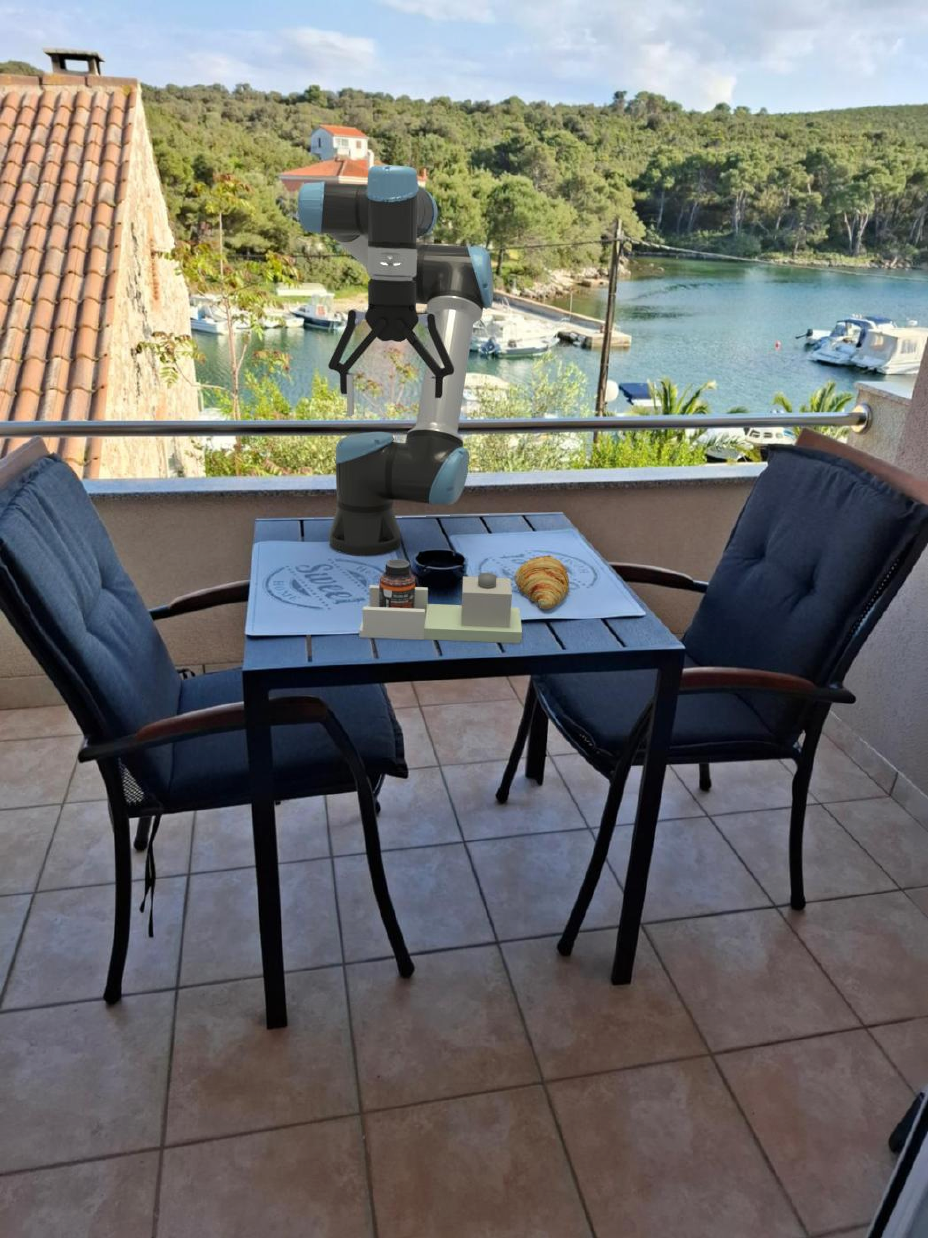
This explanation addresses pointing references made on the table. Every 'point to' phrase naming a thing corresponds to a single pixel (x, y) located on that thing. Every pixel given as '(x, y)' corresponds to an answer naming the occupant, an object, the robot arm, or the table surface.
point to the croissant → (543, 581)
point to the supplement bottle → (397, 585)
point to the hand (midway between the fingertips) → (391, 416)
